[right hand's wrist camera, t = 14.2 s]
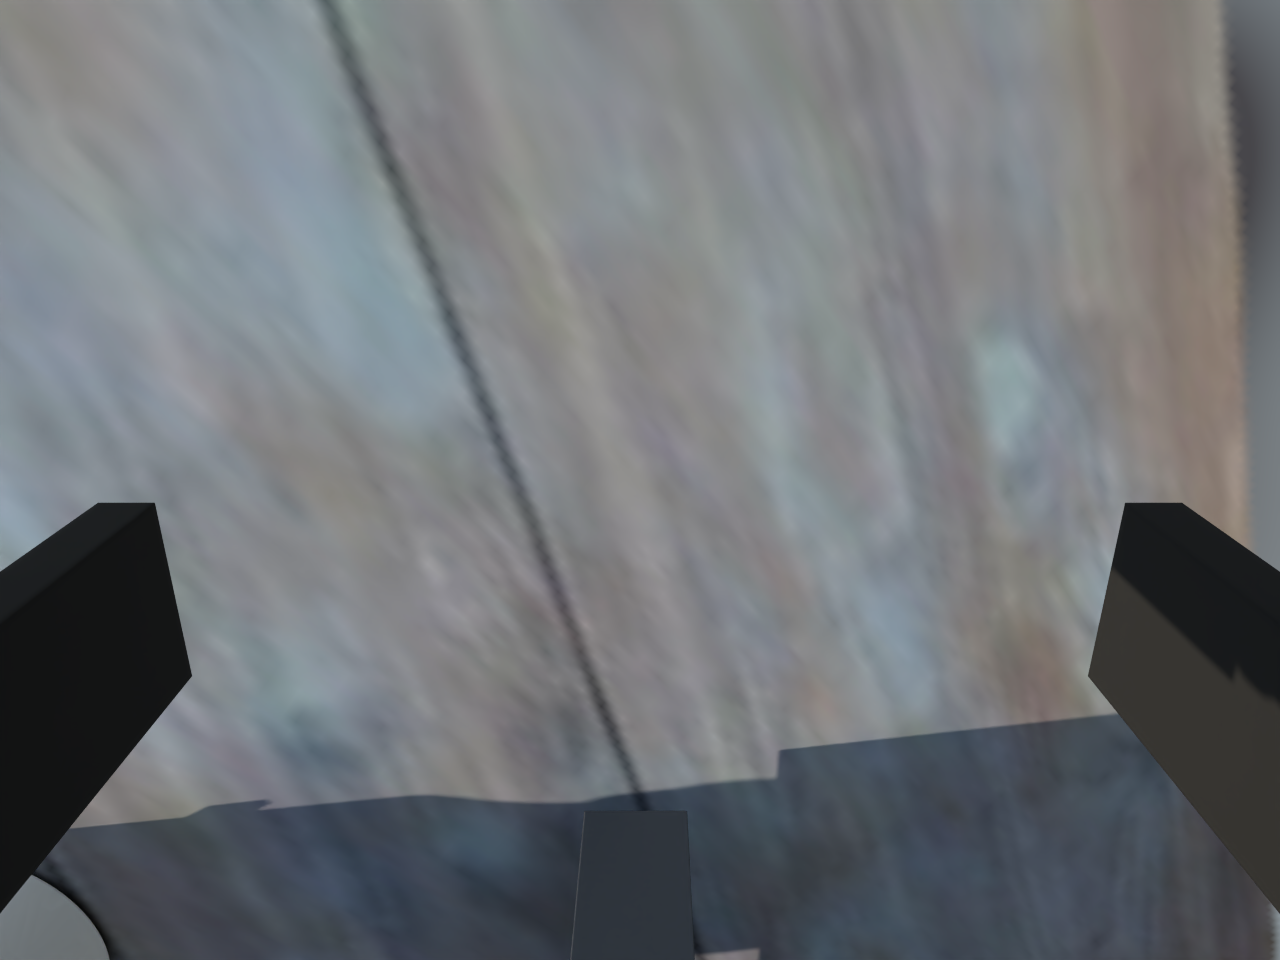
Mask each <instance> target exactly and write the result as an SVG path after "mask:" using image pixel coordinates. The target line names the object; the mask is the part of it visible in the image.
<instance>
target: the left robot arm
mask: <svg viewBox="0 0 1280 960" xmlns="http://www.w3.org/2000/svg"><path fill="white" fill-rule="evenodd" d="M0 960H110V959H109V955H108V952H107V949H106V946H105V944H104V941H103V939H102V937H101V936H100V934H99V932H98V930H97V929H96V927H95V926H94V924H93V923H92V922H91V920H90V919H89V918H88V917H87V916H86V915H85V913H84V912H83V911H82V910H81V909H80V908H79V907H78V906H77V905H76V904H75V903H73V902H72V901H71V900H70V899H69V898H68V897H66V896H65V895H64V894H63V893H61V892H60V891H58V890H57V889H56V888H54V887H52V886H51V885H49V884H48V883H46V882H44V881H43V880H41V879H39V878H37V877H35V876H33V875H31V876H30V877H29V879H28V880H27V881H26V882H25V884H24V885H23V886H22V887H21V888H20V890H19V891H18V892H17V893H16V895H15V896H14V897H13V898H12V900H11V901H10V902H9V903H8V905H7V906H6V907H5V908H4V910H3V911H2V912H1V913H0Z"/></svg>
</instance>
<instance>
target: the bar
mask: <svg viewBox="0 0 1280 960" xmlns="http://www.w3.org/2000/svg"><path fill="white" fill-rule="evenodd" d="M570 960H695V957H694V938H693V918H692V899H691V879H690V860H689V840H688V821H687V811H585V812H584V821H583V831H582V842H581V853H580V863H579V874H578V884H577V895H576V905H575V916H574V926H573V937H572V947H571V958H570Z"/></svg>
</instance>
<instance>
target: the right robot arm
mask: <svg viewBox="0 0 1280 960" xmlns="http://www.w3.org/2000/svg"><path fill="white" fill-rule="evenodd" d="M191 677H192V674H191V669H190V665H189V660H188V655H187V651H186V646H185V641H184V637H183V632H182V627H181V623H180V618H179V613H178V609H177V604H176V599H175V595H174V590H173V585H172V581H171V576H170V572H169V567H168V562H167V558H166V553H165V548H164V544H163V539H162V534H161V530H160V525H159V520H158V516H157V511H156V506H155V503H97V504H96V505H94V506H93V507H92V508H90V509H89V510H87V511H86V512H84V513H83V514H82V515H80V516H79V517H77V518H76V519H74V520H73V521H72V522H70V523H69V524H67V525H66V526H65V527H63V528H62V529H60V530H59V531H57V532H56V533H55V534H53V535H52V536H50V537H49V538H48V539H46V540H45V541H43V542H42V543H40V544H39V545H38V546H36V547H35V548H33V549H32V550H30V551H29V552H28V553H26V554H25V555H23V556H22V557H21V558H19V559H18V560H16V561H15V562H13V563H12V564H11V565H9V566H8V567H6V568H5V569H4V570H2V571H1V572H0V913H1V912H2V911H3V910H4V908H5V907H6V906H7V905H8V903H9V902H10V901H11V900H12V898H13V897H14V896H15V895H16V893H17V892H18V891H19V890H20V888H21V887H22V886H23V885H24V884H25V882H26V881H27V880H28V879H29V877H30V876H31V875H32V874H33V872H34V871H35V870H36V869H37V867H38V866H39V865H40V864H41V862H42V861H43V860H44V859H45V858H46V856H47V855H48V854H49V853H50V851H51V850H52V849H53V848H54V846H55V845H56V844H57V843H58V841H59V840H60V839H61V838H62V836H63V835H64V834H65V833H66V831H67V830H68V829H69V828H70V827H71V825H72V824H73V823H74V822H75V820H76V819H77V818H78V817H79V815H80V814H81V813H82V812H83V810H84V809H85V808H86V807H87V805H88V804H89V803H90V802H91V801H92V799H93V798H94V797H95V796H96V794H97V793H98V792H99V791H100V789H101V788H102V787H103V786H104V784H105V783H106V782H107V781H108V779H109V778H110V777H111V776H112V775H113V773H114V772H115V771H116V770H117V768H118V767H119V766H120V765H121V763H122V762H123V761H124V760H125V758H126V757H127V756H128V755H129V753H130V752H131V751H132V750H133V748H134V747H135V746H136V745H137V744H138V742H139V741H140V740H141V739H142V737H143V736H144V735H145V734H146V732H147V731H148V730H149V729H150V727H151V726H152V725H153V724H154V722H155V721H156V720H157V719H158V718H159V716H160V715H161V714H162V713H163V711H164V710H165V709H166V708H167V706H168V705H169V704H170V703H171V701H172V700H173V699H174V698H175V696H176V695H177V694H178V693H179V692H180V690H181V689H182V688H183V687H184V685H185V684H186V683H187V682H188V680H189V679H190V678H191ZM1088 677H1089V678H1090V679H1091V680H1092V682H1093V683H1094V684H1095V685H1096V687H1097V688H1098V689H1099V690H1100V692H1101V693H1102V694H1103V695H1104V696H1105V698H1106V699H1107V700H1108V701H1109V703H1110V704H1111V705H1112V706H1113V708H1114V709H1115V710H1116V711H1117V713H1118V714H1119V715H1120V716H1121V718H1122V719H1123V720H1124V721H1125V722H1126V724H1127V725H1128V726H1129V727H1130V729H1131V730H1132V731H1133V732H1134V734H1135V735H1136V736H1137V737H1138V739H1139V740H1140V741H1141V742H1142V744H1143V745H1144V746H1145V747H1146V748H1147V750H1148V751H1149V752H1150V753H1151V755H1152V756H1153V757H1154V758H1155V760H1156V761H1157V762H1158V763H1159V765H1160V766H1161V767H1162V768H1163V770H1164V771H1165V772H1166V773H1167V775H1168V776H1169V777H1170V778H1171V779H1172V781H1173V782H1174V783H1175V784H1176V786H1177V787H1178V788H1179V789H1180V791H1181V792H1182V793H1183V794H1184V796H1185V797H1186V798H1187V799H1188V801H1189V802H1190V803H1191V804H1192V805H1193V807H1194V808H1195V809H1196V810H1197V812H1198V813H1199V814H1200V815H1201V817H1202V818H1203V819H1204V820H1205V822H1206V823H1207V824H1208V825H1209V827H1210V828H1211V829H1212V830H1213V831H1214V833H1215V834H1216V835H1217V836H1218V838H1219V839H1220V840H1221V841H1222V843H1223V844H1224V845H1225V846H1226V848H1227V849H1228V850H1229V851H1230V853H1231V854H1232V855H1233V856H1234V858H1235V859H1236V860H1237V861H1238V862H1239V864H1240V865H1241V866H1242V867H1243V869H1244V870H1245V871H1246V872H1247V874H1248V875H1249V876H1250V877H1251V879H1252V880H1253V881H1254V882H1255V884H1256V885H1257V886H1258V887H1259V888H1260V890H1261V891H1262V892H1263V893H1264V895H1265V896H1266V897H1267V898H1268V900H1269V901H1270V902H1271V903H1272V905H1273V906H1274V907H1275V908H1276V910H1277V911H1278V912H1279V913H1280V572H1279V571H1278V570H1276V569H1275V568H1274V567H1272V566H1271V565H1269V564H1268V563H1267V562H1265V561H1264V560H1262V559H1261V558H1259V557H1258V556H1257V555H1255V554H1254V553H1252V552H1251V551H1250V550H1248V549H1247V548H1245V547H1244V546H1242V545H1241V544H1240V543H1238V542H1237V541H1235V540H1234V539H1232V538H1231V537H1230V536H1228V535H1227V534H1225V533H1224V532H1223V531H1221V530H1220V529H1218V528H1217V527H1215V526H1214V525H1213V524H1211V523H1210V522H1208V521H1207V520H1206V519H1204V518H1203V517H1201V516H1200V515H1198V514H1197V513H1196V512H1194V511H1193V510H1191V509H1190V508H1188V507H1187V506H1186V505H1184V504H1183V503H1125V506H1124V511H1123V516H1122V520H1121V525H1120V530H1119V534H1118V539H1117V544H1116V548H1115V553H1114V558H1113V562H1112V567H1111V572H1110V576H1109V581H1108V585H1107V590H1106V595H1105V599H1104V604H1103V609H1102V613H1101V618H1100V623H1099V627H1098V632H1097V637H1096V641H1095V646H1094V651H1093V655H1092V660H1091V665H1090V669H1089V674H1088Z"/></svg>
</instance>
